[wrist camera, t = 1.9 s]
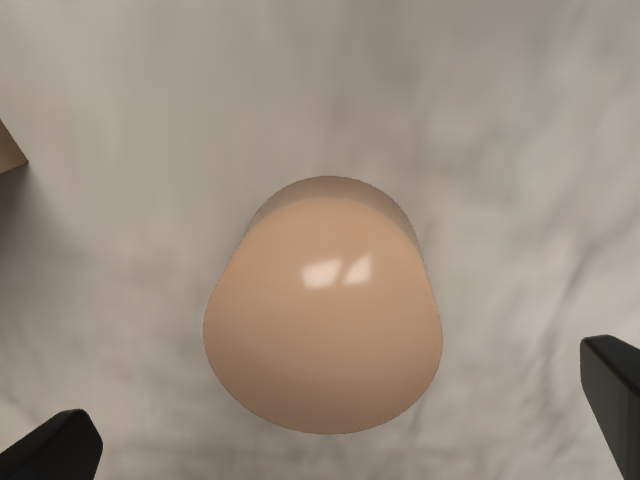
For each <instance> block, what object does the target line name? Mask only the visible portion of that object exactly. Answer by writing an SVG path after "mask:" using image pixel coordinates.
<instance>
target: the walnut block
mask: <svg viewBox="0 0 640 480" xmlns="http://www.w3.org/2000/svg"><path fill="white" fill-rule="evenodd" d="M27 162H29V161H28V160H27V158H26V157H25V155H24V154H23V152H22V151H21V149H20V148H19V146H18V145H17V143H16V142H15V140H14V139H13V137H12V136H11V134H10V133H9V131H8V130H7V128H6V127H5V125H4V124H3V122H2V121H1V119H0V175H1V174H3V173H5V172H7V171H10V170H12V169H14V168H16V167H18V166H20V165H22V164H25V163H27Z"/></svg>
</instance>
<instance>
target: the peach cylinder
mask: <svg viewBox="0 0 640 480" xmlns="http://www.w3.org/2000/svg"><path fill="white" fill-rule="evenodd" d="M203 338H204V344H205V350H206V353H207V356H208V359H209V362H210V364H211V367H212V369H213V371H214V373H215V375H216V376H217V378H218V379H219V381H220V382H221V384H222V385H223V386H224V387H225V389H226V390H227V391H228V392H229V393H230V394H231V395H232V396H233V397H234V398H235V399H236V400H237V401H238V402H239V403H240V404H242V405H243V406H244V407H246V408H247V409H248V410H250V411H251V412H253V413H254V414H256V415H258V416H260V417H261V418H263V419H265V420H267V421H270V422H272V423H274V424H276V425H279V426H282V427H285V428H288V429H292V430H296V431H301V432H306V433H314V434H345V433H352V432H357V431H362V430H365V429H369V428H373V427H375V426H378V425H380V424H383V423H385V422H387V421H389V420H391V419H393V418H395V417H397V416H398V415H400V414H401V413H403V412H404V411H405V410H407V409H408V408H409V407H410V406H412V405H413V404H414V403H415V402H416V401H417V400H418V399H419V398H420V397H421V396H422V394H423V393H424V392H425V391H426V390H427V388H428V386H429V385H430V383H431V382H432V380H433V378H434V376H435V374H436V371H437V369H438V367H439V363H440V359H441V355H442V344H443V337H442V327H441V322H440V318H439V314H438V311H437V307H436V304H435V300H434V297H433V293H432V290H431V286H430V283H429V279H428V275H427V272H426V268H425V265H424V261H423V258H422V254H421V251H420V247H419V244H418V240H417V237H416V234H415V231H414V229H413V226H412V224H411V222H410V221H409V219H408V217H407V215H406V214H405V213H404V211H403V210H402V209H401V208H400V206H399V205H398V204H397V203H396V202H395V201H393V200H392V199H391V198H390V197H389V196H388V195H386V194H385V193H383V192H382V191H381V190H379V189H377V188H375V187H373V186H371V185H369V184H367V183H364V182H361V181H359V180H355V179H351V178H347V177H338V176H320V177H313V178H308V179H304V180H301V181H298V182H295V183H293V184H291V185H288V186H286V187H285V188H283V189H281V190H279V191H278V192H276V193H275V194H274V195H273V196H271V197H270V198H269V199H268V200H267V201H266V202H265V203H264V204H263V205H262V206H261V207H260V209H259V210H258V212H257V213H256V214H255V216H254V218H253V219H252V221H251V223H250V225H249V227H248V229H247V230H246V232H245V234H244V236H243V238H242V240H241V241H240V243H239V245H238V247H237V249H236V251H235V252H234V254H233V256H232V258H231V260H230V262H229V263H228V265H227V267H226V269H225V271H224V272H223V274H222V276H221V278H220V280H219V282H218V283H217V285H216V287H215V289H214V291H213V293H212V295H211V297H210V299H209V302H208V305H207V308H206V311H205V317H204V324H203Z"/></svg>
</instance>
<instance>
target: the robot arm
mask: <svg viewBox="0 0 640 480" xmlns="http://www.w3.org/2000/svg"><path fill="white" fill-rule="evenodd" d="M580 372H581V383H582V387H583V390H584V393H585V395H586V397H587V399H588V402H589V404H590V406H591V408H592V411H593V413H594V415H595V417H596V419H597V422H598V424H599V426H600V428H601V430H602V433H603V435H604V437H605V439H606V441H607V444H608V446H609V448H610V450H611V452H612V455H613V457H614V459H615V461H616V464H617V466H618V468H619V470H620V472H621V474H622V476H623V478H624V480H640V349H638V348H636V347H634V346H632V345H630V344H628V343H626V342H624V341H622V340H620V339H618V338H616V337H614V336H611V335H599V336H592V337H585V338H583V339H582V340H581V343H580ZM102 450H103V442H102V439H101V436H100V435H99V433H98V431H97V429H96V428H95V426H94V424H93V422H92V420H91V419H90V417H89V415H88V414H87V412H86V411H84V410H83V409H73V410H66V411H62V412H59V413H58V414H56V415H55V416H53V417H52V418H50V419H49V420H48V421H46V422H45V423H43V424H42V425H40V426H39V427H38V428H36V429H35V430H33V431H32V432H30V433H29V434H28V435H26V436H25V437H23V438H22V439H20V440H19V441H17V442H16V443H15V444H13V445H12V446H10V447H9V448H7V449H6V450H5V451H3V452H2V453H0V480H94V477H95V474H96V470H97V467H98V464H99V461H100V458H101V455H102Z"/></svg>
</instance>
